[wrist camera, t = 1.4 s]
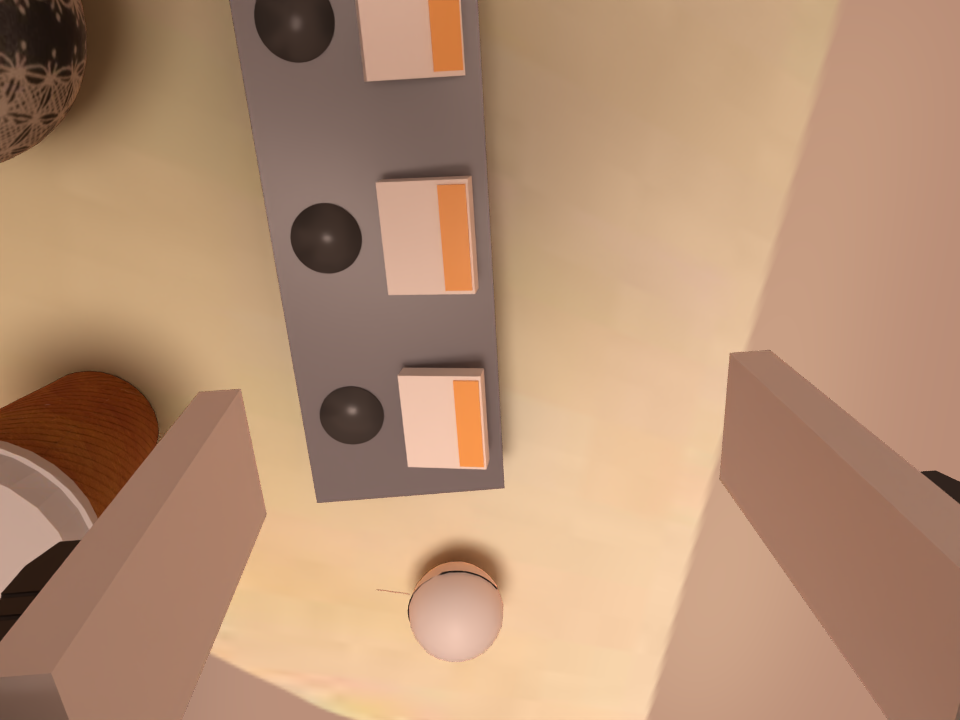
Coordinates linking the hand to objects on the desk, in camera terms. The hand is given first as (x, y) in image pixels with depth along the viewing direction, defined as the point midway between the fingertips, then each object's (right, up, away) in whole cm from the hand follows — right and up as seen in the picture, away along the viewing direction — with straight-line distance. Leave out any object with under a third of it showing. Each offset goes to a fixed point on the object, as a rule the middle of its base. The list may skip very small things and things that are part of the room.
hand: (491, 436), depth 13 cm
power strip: (-5, +9, +22) cm, 24 cm away
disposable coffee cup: (-21, -2, +25) cm, 33 cm away
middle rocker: (-2, +7, +17) cm, 19 cm away
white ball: (-3, -12, +30) cm, 33 cm away
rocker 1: (-3, +15, +14) cm, 21 cm away
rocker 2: (-2, -1, +21) cm, 21 cm away
